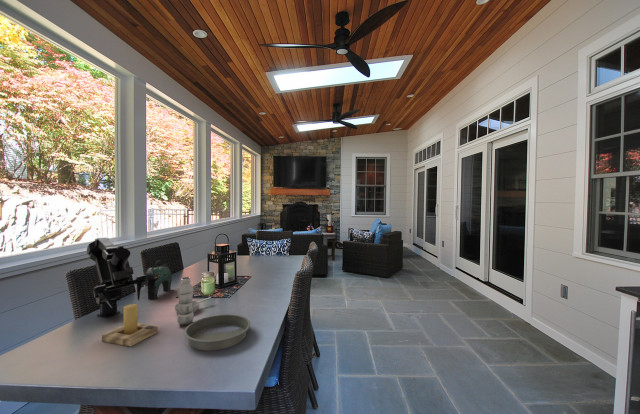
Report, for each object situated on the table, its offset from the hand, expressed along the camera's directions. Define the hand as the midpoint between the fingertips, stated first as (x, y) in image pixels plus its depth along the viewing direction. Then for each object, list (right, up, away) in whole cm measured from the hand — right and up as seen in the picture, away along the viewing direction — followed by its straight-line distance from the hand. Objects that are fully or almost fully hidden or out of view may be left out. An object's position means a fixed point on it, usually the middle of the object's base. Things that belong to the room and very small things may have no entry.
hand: (125, 303), depth 117 cm
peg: (+6, -11, -6) cm, 14 cm away
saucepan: (+19, -11, +22) cm, 31 cm away
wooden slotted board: (+6, -11, -6) cm, 14 cm away
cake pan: (+41, -11, -6) cm, 43 cm away
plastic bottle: (+22, -11, +6) cm, 25 cm away
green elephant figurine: (-12, -10, +44) cm, 47 cm away
